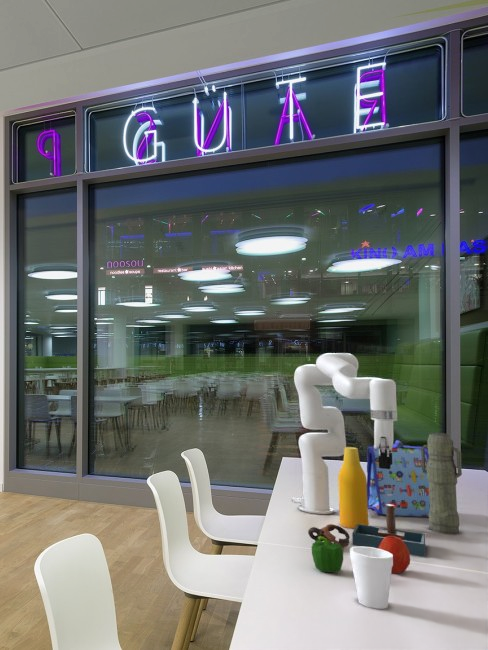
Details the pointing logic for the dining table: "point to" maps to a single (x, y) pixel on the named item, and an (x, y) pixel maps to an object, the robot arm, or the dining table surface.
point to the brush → (391, 524)
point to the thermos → (442, 482)
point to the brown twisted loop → (329, 534)
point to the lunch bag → (398, 482)
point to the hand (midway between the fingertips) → (385, 466)
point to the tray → (370, 538)
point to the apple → (396, 553)
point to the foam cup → (372, 575)
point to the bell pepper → (327, 555)
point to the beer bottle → (352, 491)
